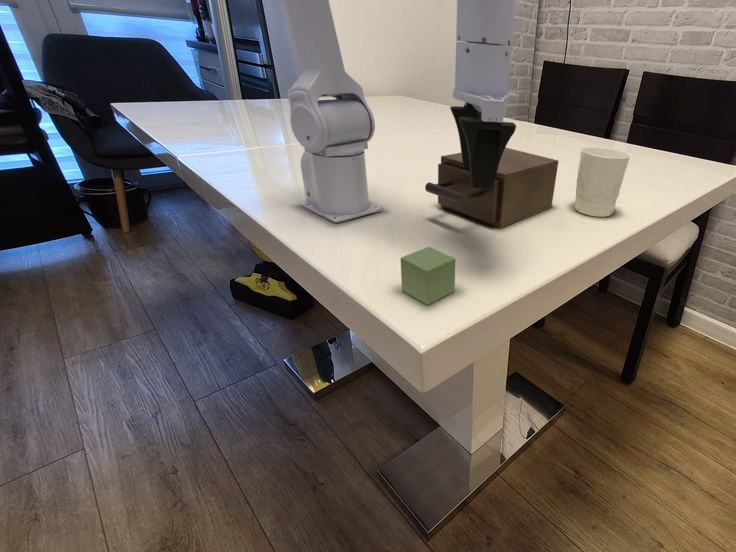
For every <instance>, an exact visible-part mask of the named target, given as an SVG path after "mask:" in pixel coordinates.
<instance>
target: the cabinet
mask: <svg viewBox="0 0 736 552" xmlns="http://www.w3.org/2000/svg"><path fill="white" fill-rule="evenodd" d="M441 163H445V164H449V165H452V166H453V165H455V166H459V167H462V168H464V165H463V160H462V154H461V152H457V153H451V154H445V155H440V164H441ZM558 168H559V160H558V159H553V158H550V157H546V156H542V155H537V154H534V153H529V152H525V151H522V150H517V149H513V148H511V147H510V148H509V147H507V146H506V147H505V149H504V152H503V154H502V157H501V160H500V163H499V166H498V170H497V173H496V177H495V178H499V179H500V180H501V182H500V195H499V207H498V219H497V222H495V223H493V224H492V223H489V222H487V221H484V220H481V219H479V218H476V217H473V216H471V215H468V214H465V213H463V212H460V211H457V210H455V209H452V208H449V207H447V206H444V205H442V204H440V207H442V208H445V209H447V210H450V211H453V212H455V213H458V214H461V215H463V216H466V217H469V218H471V219H474V220H477V221H479V222H482V223H485V224H487V225H490V226H492V227H494V228H498V229H503V228H505V227H508V226H510V225H512V224H515V223H517V222H520V221H522V220H524V219H527V218H530V217H532V216H535V215H536V214H539V213H541V212H544V211H547V210H549V209H551V208H552V207H553V201H554V194H555V188H556V182H557V181H556V180H557V174H558ZM469 170H470V169H469Z"/></svg>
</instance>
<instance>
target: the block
mask: <svg viewBox="0 0 736 552" xmlns="http://www.w3.org/2000/svg"><path fill="white" fill-rule="evenodd" d="M400 277H401V292H403V293H405V294H407V295H409V296H410V297H412V298H414V299H416V300H417V301H419V302H421V303H423V304H424V305H426V306H429V305H431V304H433V303H435V302H437V301H439V300H440V299H443V298H445V297H446V296H448V295H450V294H452V293H454V292H455V290H456V289H455V288H456V258H455V257H453V256H451V255H449V254H447V253H445V252H442V251H440V250H438V249H436V248H433V247H431V246H427V247H425V248H422V249H419V250H416V251H414V252H411V253H409V254H406V255H404V256H401V257H400Z"/></svg>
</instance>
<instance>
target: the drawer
mask: <svg viewBox="0 0 736 552" xmlns="http://www.w3.org/2000/svg"><path fill="white" fill-rule="evenodd" d="M500 182H501V180H500V179H499V178H495V180H494V183H493V186H492V188H475V187H473V184H472V180H471V173H470V170H469V169H465V168H462V167H459V166H455V165H453V166H452V165H449V164H445V163H441V162H440V163H438V164H437V183H433V182H430V181H429V182H427V183H426V184H425V186H424V190H425V191H426V193H429V194H432V195H435V196H437V204H439V205H441V204H442V205H444V206H447V207H449V208H452V209H455V210H457V211H460V212H463V213H465V214H468V215H471V216H473V217H476V218H479V219H481V220H484V221H487V222H489V223H492V224H493V223H495V222H497V219H498V207H499V195H500Z"/></svg>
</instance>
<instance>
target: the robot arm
mask: <svg viewBox="0 0 736 552" xmlns="http://www.w3.org/2000/svg"><path fill="white" fill-rule="evenodd" d="M281 3H282V7H283V11H284V15H285V18H286V22H287V26H288V29H289V33H290V37H291V40H292V41H291V42H292V44H293V47H294V51H295V55H296V59H297V62H298V66H299V70H300V74H301V75H300V76H299V77H298V79H297V80H296V81H295V82H294V83H293V85H292V86H291V87H290V88H289V89H288V91H287V92H286V96H287V99H288V103H289V108H290V118H289V119H290V120H289V121H290V127H291V130H292V134H293V136H294V137H295V139H296V140H297V142H298V143H299V144H300V145H301V146H302V148H304V151H303V152H302V155H301V158H300V172H301V176H302V182H303V183H302V184H303V190H304V195H305V201H302V202H300V205H301V206H302V207H303V208H305V209H307V210H309V211H311V212H313V213H315V214H317V215H319V216H321V217H323V218H325V219H327V220H328V221H331V222H333V223H342V222H345V221H348V220H352V219H356V218H359V217H364V216H367V215H370V214H374V213H378V212H381V211H382V207H381V206H379V205H376V204H375V203H372V202H369V189H368V177H367V165H366V164H367V163H366V154H365V152H366V151H365V150H368V149H369V146H368V144H369V142H370V141H371V140H372V138H373V137H374V134H375V130H376V124H375V123H376V122H375V117H374V114H373V111H372V109H371V108H370V106H369V104H368V102H367V101H366V98H365V93H364V89H363V87H362V85H360V84H359V83H358V82H357V81H356V80H355V79H354V78H353V77H351V76H350V75H349V74H348V73H347V72H346V70H345V69H346V68H345V65H344V60H343V56H342V53H341V48H340V44H339V39H338V35H337V31H336V26H335V22H334V18H333V13H332V9H331V5H330V0H281ZM516 5H517V0H456V25H455V26H456V30H455V65H454V66H455V67H454V68H455V70H454V88H453V89H452V98H453V99H455V100H457V101H461V102H463V103H464V104H463V106H453V105H452V106H450V108H449V109H450V111H451V114H452V116H453V119H454V122H455V125H456V128H457V133H458V138H459V145H460V146H459V147H460V153H461V154H462V160H463V165H464V168H465V169H470V173H471V180H472V184H473V187H475V188H492V186H493V183H494V180H495V177H496V173H497V170H498V166H499V163H500V160H501V157H502V154H503V152H504V149H505V147H506V148H507V145H508V144H509V141H510V140H511V138H512V136H513V135H514V133H515V132H516V129H517V125H516V124H515V123H514V122H511V121H504V117H505V115H504V114H505V107H506V105H507V104H509V103H510V102H513V103H515V102H517V103H518V102H519V98H520V95H519V94H517V93H514V92H509V87H510V76H511V74H510V73H511V65H512V53H513V52H512V51H513V47H512V46H513V41H514V31H515V30H514V29H515V18H516V17H515V16H516ZM324 97H331V99H320V98H324ZM332 98H334V99H332Z"/></svg>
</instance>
